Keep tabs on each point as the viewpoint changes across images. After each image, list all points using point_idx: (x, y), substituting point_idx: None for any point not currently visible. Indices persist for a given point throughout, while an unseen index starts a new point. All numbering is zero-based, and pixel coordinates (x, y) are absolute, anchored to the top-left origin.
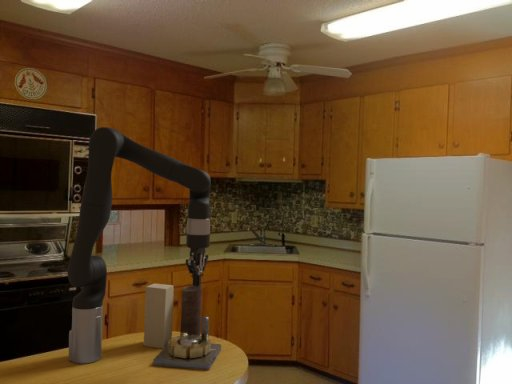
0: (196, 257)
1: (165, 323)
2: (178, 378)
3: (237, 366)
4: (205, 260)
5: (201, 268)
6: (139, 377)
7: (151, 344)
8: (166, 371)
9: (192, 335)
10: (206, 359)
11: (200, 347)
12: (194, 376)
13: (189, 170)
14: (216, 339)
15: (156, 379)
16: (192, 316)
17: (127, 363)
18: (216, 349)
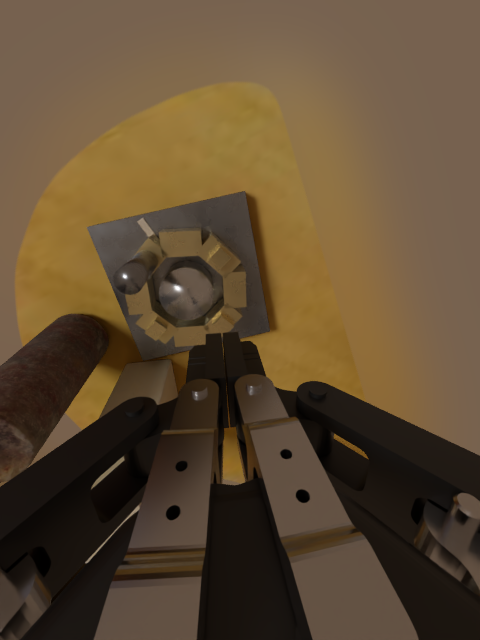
0: (475, 608)
1: (154, 397)
2: (313, 239)
3: (184, 118)
4: (27, 524)
5: (203, 421)
6: (330, 315)
7: (175, 388)
8: (286, 284)
9: (136, 310)
10: (220, 213)
11: (217, 240)
12: (291, 209)
13: None
14: (23, 276)
15: (330, 280)
16: (69, 358)
17: (276, 372)
18: (136, 220)
